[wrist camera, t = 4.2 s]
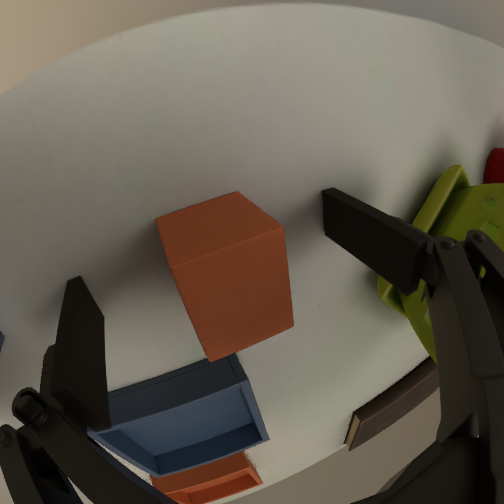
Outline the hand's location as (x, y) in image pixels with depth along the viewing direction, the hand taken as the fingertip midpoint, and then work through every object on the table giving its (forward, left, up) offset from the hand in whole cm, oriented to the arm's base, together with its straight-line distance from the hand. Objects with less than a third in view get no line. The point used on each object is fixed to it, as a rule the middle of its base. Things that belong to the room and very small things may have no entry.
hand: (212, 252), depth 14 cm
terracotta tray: (-9, -30, 0) cm, 31 cm away
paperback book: (+24, -40, 0) cm, 47 cm away
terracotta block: (0, 0, 0) cm, 0 cm away
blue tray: (-6, -13, 0) cm, 14 cm away
